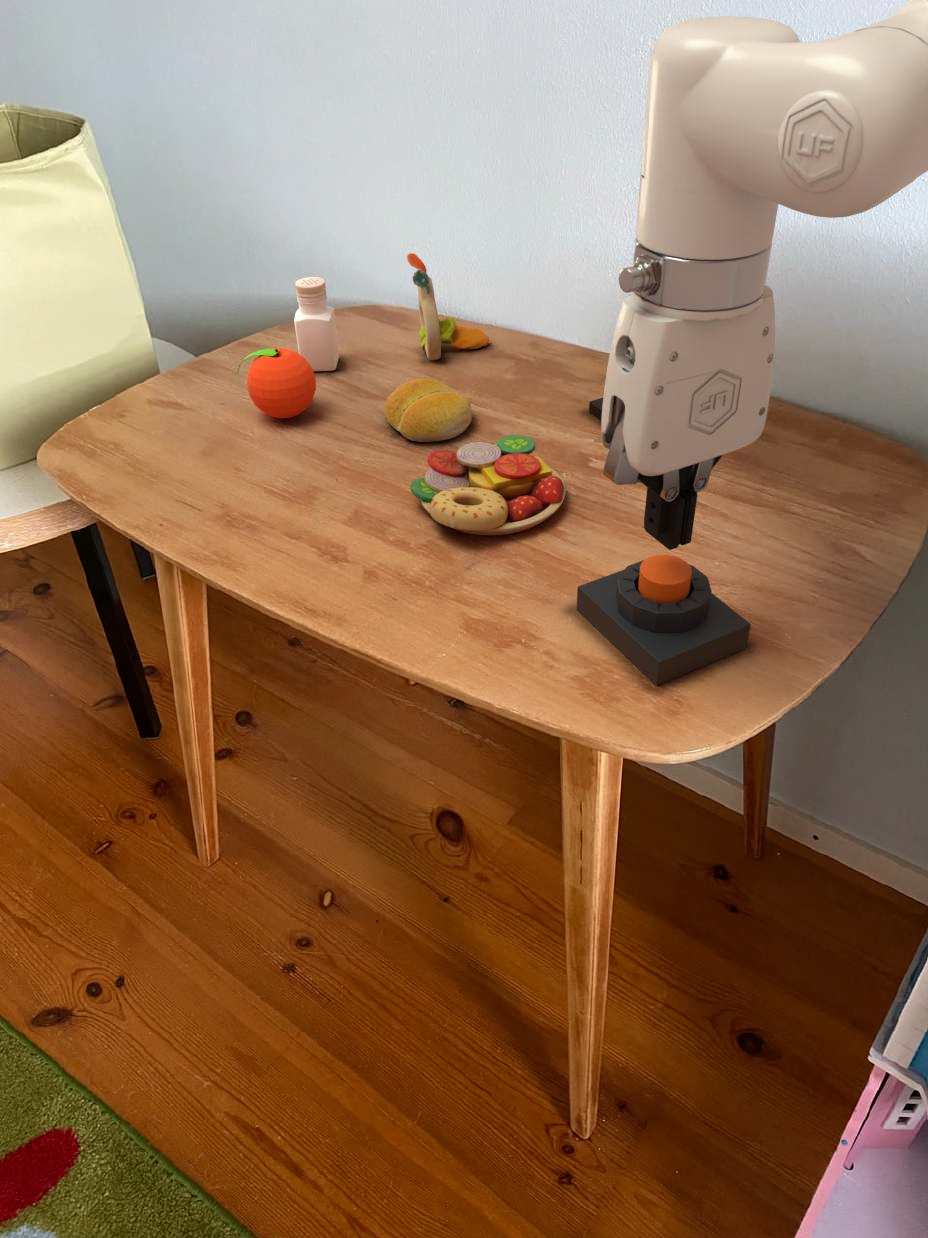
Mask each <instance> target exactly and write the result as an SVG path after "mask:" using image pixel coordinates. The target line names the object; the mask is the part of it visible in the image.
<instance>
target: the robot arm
mask: <svg viewBox="0 0 928 1238" xmlns="http://www.w3.org/2000/svg"><path fill="white" fill-rule="evenodd" d="M646 88H647V89H646V98H645V99H646V101H645V112H644V113H645V114H644V124H643V125H644V127H643V137H642V138H643V139H642V151H641V152H642V153H641V163H640V175H639V189H638V201H637V218H636V230H635V238H634V249H633V263H632V264H631V265H630V266H627V267H623V268H622V269H620V271H619V273H618V285H619V287H620V289H621V291H623V293H626V294H628V293H630V294H628V295H626V296H625V297H623V300H622V303H621V306H620V310H619V312H618V313H619V314H618V316H617V320H616V323H615V324H616V325H615V328H614V333H613V335H612V341H611V347H610V350H609V356H608V362H607V368H606V374H605V381H604V389H603V395H602V396H603V397H602V398H603V406H602V420H600V421H601V422H600V423H601V426H600V428H601V429H600V430H601V431H600V433H601V434H600V436H601V441H602V446H603V447H604V448H605V449H607V450H608V453H607V455H606V460H605V462H604V467H603V469H602V470H603V471H602V473H603V476H604V477H605V478H607V479H609V481H611V482H612V483H613V484H615V485H617V486H620V485H621V486H622V485H637V483H641V485H644V486H645V487H646V495H645V496H646V497H645V505H644V506H645V507H644V516H643V529H644V531H645V532H646V533H647V534H648V535H650V536H651V537H652V538H653V539H654V540H656V541H657V542H659V543H660V544H661V545H662V546H664V547H665V548H666V549H667V550H669V551H672V550H674V549H677V548H679V546H686V545H689V544H690V543H691V542H692V536H693V530H694V521H695V516H696V510H697V502H698V501H697V500H698V493H700V492H702V491H703V490H705V489H706V488H707V486H708V484H709V481H710V477H711V473H712V470H713V469H714V467H715V466H716V465H717V464H718V462H719V461H720V460H721V458H723V456H724V455H727V454H729V453H732V452H735V451H738V450H741V449H743V448H746V447H747V446H750V445H751V444H753V443H754V442H755V441H757V440H758V439H759V438H760V437H761V436H762V435H763V432H764V429H765V426H766V423H767V416H768V413H769V404H770V398H771V390H772V381H773V373H774V363H775V352H776V351H775V348H776V310H775V299H774V292H773V290H772V288H770V287H769V286H768V285H766V283H767V277H768V271H769V265H770V259H771V252H772V246H773V239H774V234H775V233H774V232H775V227H776V220H777V217H778V216H777V215H778V209H779V205H781V206H783V207H784V208H788V209H790V210H793V211H795V212H799V213H802V214H805V215H810V216H813V217H820V218H826V219H827V218H829V219H830V218H831V219H836V218H837V219H838V218H846V217H852V216H855V215H859V214H862V213H865V212H867V211H869V210H871V209H874V208H876V207H877V206H879V205H881V204H882V203H885V202H886V201H887V200H889V199H890V198H892V197H893V196H894V195H896V194H897V193H899V192H900V191H901V190H903V189H904V188H906V187H907V186H909V185H910V184H911V183H913V182H915V180H917V179H918V178H919V177H920V176H922V175H924V174H925V173H927V172H928V0H908V1H907V2H905V3H904V4H903V5H902V6H901V7H900V8H899V9H898V10H897V11H896V12H894V13H893V14H892V15H890V16H889V17H888V18H885V19H882V20H879V21H877V22H874V23H872V24H869V25H867V26H864V27H861V28H859V29H856V30H854V31H852V32H849V33H845V34H841V35H838V36H834V37H830V38H827V39H824V40H815V41H803V42H801V40H800V38H799V36H798V34H797V32H796V31H795V30H793V28H791V27H790V26H789V25H787V24H784V23H782V22H780V21H777V20H773V19H767V18H761V17H753V16H752V17H751V16H731V15H730V16H707V17H699V18H692V19H685V20H682V21H679V22H677V23H674V24H672V25H670V26H668V27H667V28H666V29H665V30H663V31H662V32H661V33H660V35H658V37H657V39H656V40H655V42H654V45H653V47H652V51H651V53H650V60H649V67H648V76H647V87H646Z"/></svg>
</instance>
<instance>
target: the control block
mask: <svg viewBox="0 0 928 1238" xmlns="http://www.w3.org/2000/svg"><path fill="white" fill-rule="evenodd" d="M644 560H645V559H642V560H639V561H637V562H634V563H632V564H629V565H627V566H626V567H625V568H624V569H622V570H619V571H616V572H614V573H611V574H608V575H604V576H603V577H599V578H597V579H595V580H591V581H589V582H586V583H583V584H581V585H578V586H577V591H576V592H577V593H576V610H577V611H578V613H580V614H581V615H582V616H583V617H584V618H585V619H586V620H587V621H588V622H589V623H590V624H591V625H592V626H593V627H594V628H596V630H597V631H599V632H600V633H601V635H602V636H604V637H605V638H606V639H607V640H608V641H609V642H610V643H611V644H612V645H613V646H614V647H615V648H616V649H617V650H619V652H621V653H622V654H623V656H625V657H626V658H627V659H628V660H629V661H630V662H631V663H632V664H633V665H634V666H635V667H636V668H637V669H638V670H639V671H640V672H641V673H642V674H644V676H646V677H647V678H648V679H649V680H650V681H651V682H652V683H653V684H654V685H655V686H660V685H662V684H665V683H667V682H669V681H671V680H674V679H676V678H678V677H681V676H684V675H686V674H688V673H691V672H693V671H695V670H697V669H700V668H703V667H704V666H707V665H709V664H711V663H714V662H716V661H718V660H721V659H723V658H726V657H728V656H730V655H732V654H735V653H738V652H740V651H742V650H745V649H747V647H748V643H749V637H750V633H751V632H750V631H751V628H752V627H751V626H752V624H751V623H750V622H749V621H747V619H745V618H744V617H743V616H742V615H740V614H739V613H738V612H736V611H735V610H734V609H733V608H732V607H730V606H729V605H728V604H726V602H724V601H723V600H721V599H720V598H719V597H718V596H717V595H715V593H713V592H712V588H711V584H710V580H709V577H708V576H707V575H706V574H705V573H703V572H702V571H700V570H699V569H698V568H697V567H696V566H694V565H692V564H689V563H688V564H689V565H690V567H691V569H692V575H691V582H690V590H689V594H688V596H687V597H686V598H685V599H684V600H682V601H679V602H677V603H659V602H656V601H653V600H649V599H646V598H645V597H643V596H642V595H641V593H640V592H639V589H638V584H639V573H640V566H641V564H642V562H643V561H644Z"/></svg>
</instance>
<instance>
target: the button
mask: <svg viewBox="0 0 928 1238" xmlns="http://www.w3.org/2000/svg"><path fill="white" fill-rule="evenodd" d="M643 560H644V561H643ZM643 560H642V561H643V562H642V564H641V566H640V573H639V584H638V589H639V592H640V593H641V595H642V596H643V597H645V598H646V599H649V600H653V601H656V602H659V603H677V602H679V601H682V600H684V599H685V598H686V597H687V596H688V594H689V590H690V582H691V575H692V569H691V567H690V565H691V564H690V565H689V563H688V562H687V561H686V560H684V559H683V558H680V557H678V556H675V555H670V554H657V555H652V556H649V557H647V558H645V559H643Z"/></svg>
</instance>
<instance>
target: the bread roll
mask: <svg viewBox="0 0 928 1238" xmlns="http://www.w3.org/2000/svg"><path fill="white" fill-rule="evenodd" d="M385 400H386V401H385V402H384V405H383V414H384V417H385V419H386V421H387V422H388V424H389V425H390V426H391V427H392V428H393V429H395V430H396V431H398V432H399V433H400V434H401V435H402V436H403V437H404V438H406V439H407V440H409V441H412V442H419V443H422V442H423V443H427V442H428V443H430V442H431V443H432V442H440V441H441V442H442V441H446V440H450V439H453V438H456V437H457V436H460V434H462V433H463V432H464V431H466V430H467V428H468V427H469V426H470V424H471V422H472V419H473V418H472V417H473V416H472V413H473V412H472V406H471V402H470V401H469V400H468V398H467V397H466V396H464V395H463V394H461V393H458V392H455V391H454V390H453V388H451V387H450V386H449V385H447V384H446V383H444V382H442V381H440V380H437V379H434V378H425V377H421V378H420V377H419V378H416V379H411V380H408V381H407V382H404V383H402V384H401V385H399V386H398V387H397V388H396V389H394V391H392V392H391V393H390V394H389V396H388V397H387V398H386V399H385Z"/></svg>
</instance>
